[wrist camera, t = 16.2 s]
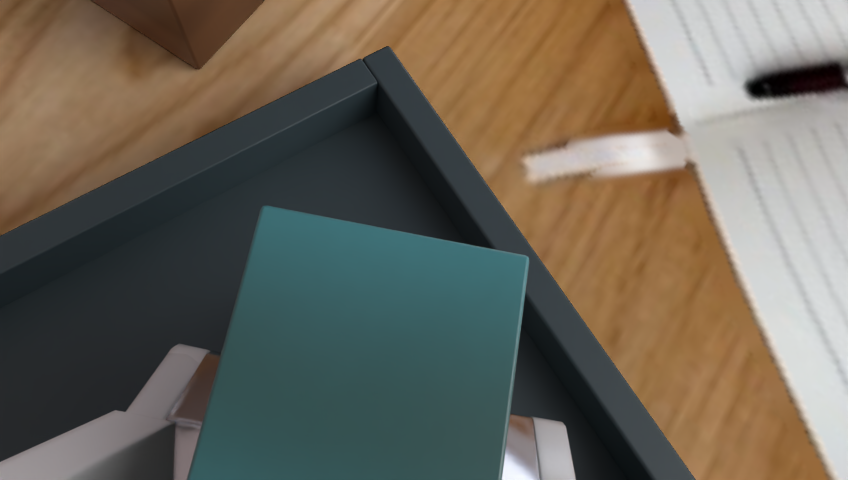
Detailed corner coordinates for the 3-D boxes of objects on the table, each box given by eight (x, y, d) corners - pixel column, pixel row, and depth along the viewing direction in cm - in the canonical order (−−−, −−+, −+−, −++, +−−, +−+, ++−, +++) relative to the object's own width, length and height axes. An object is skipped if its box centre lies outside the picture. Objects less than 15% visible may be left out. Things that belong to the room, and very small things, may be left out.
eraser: (421, 647, 13) (508, 925, 5) (226, 613, 13) (19, 845, 5) (469, 334, 16) (581, 201, 8) (301, 303, 15) (234, 133, 7)
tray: (14, 1010, 12) (-65, 1135, 10) (-215, 401, 15) (-315, 390, 12) (667, 500, 16) (716, 507, 13) (385, 92, 18) (389, 43, 16)
